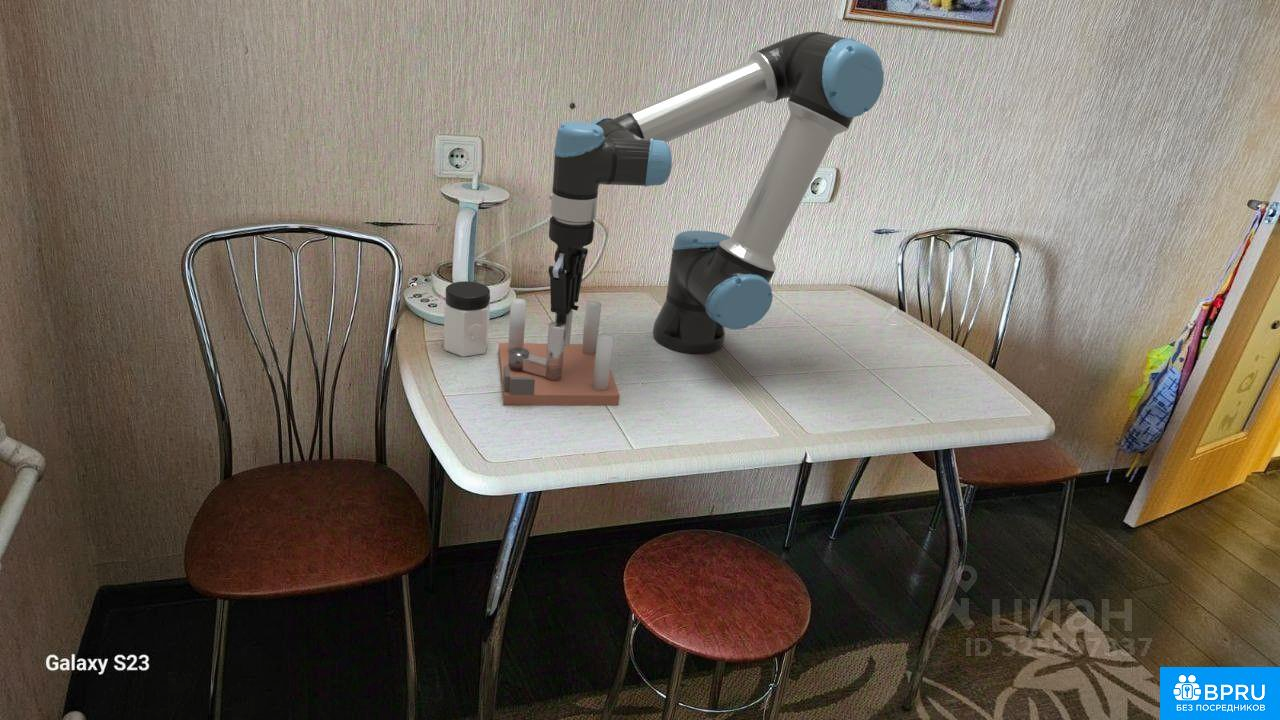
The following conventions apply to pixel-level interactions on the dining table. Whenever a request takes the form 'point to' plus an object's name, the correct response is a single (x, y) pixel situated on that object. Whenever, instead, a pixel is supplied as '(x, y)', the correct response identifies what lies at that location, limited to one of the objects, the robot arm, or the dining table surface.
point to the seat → (581, 366)
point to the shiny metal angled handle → (539, 365)
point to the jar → (466, 318)
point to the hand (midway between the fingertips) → (561, 343)
